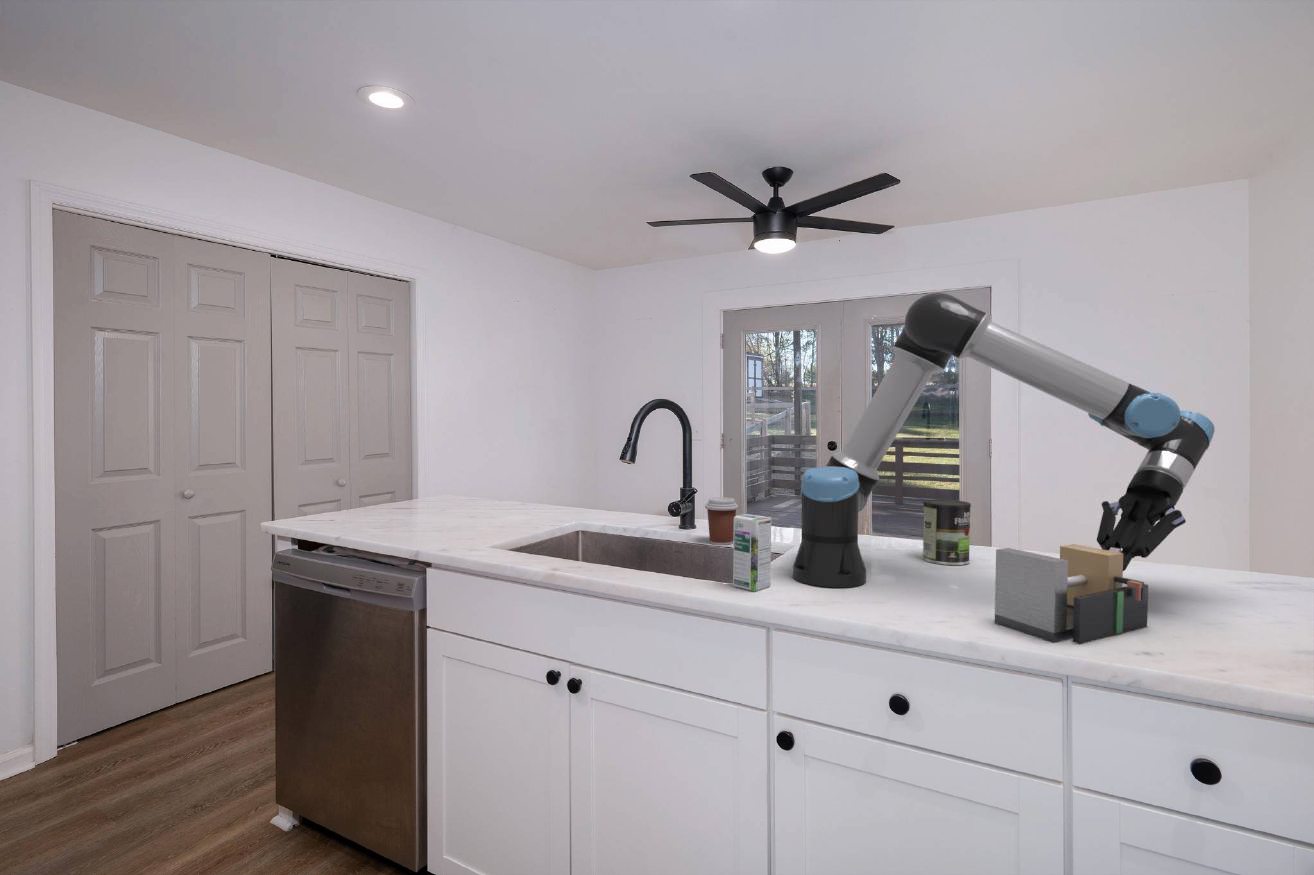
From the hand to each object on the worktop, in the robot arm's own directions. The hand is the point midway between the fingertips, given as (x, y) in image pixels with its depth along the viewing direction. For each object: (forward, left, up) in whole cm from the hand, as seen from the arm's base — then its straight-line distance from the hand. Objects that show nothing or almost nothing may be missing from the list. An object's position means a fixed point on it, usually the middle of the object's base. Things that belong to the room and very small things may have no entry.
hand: (1102, 581), depth 109 cm
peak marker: (+4, -7, -1) cm, 8 cm away
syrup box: (-60, -14, -6) cm, 62 cm away
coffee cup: (-83, +22, -6) cm, 86 cm away
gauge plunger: (-2, -6, -4) cm, 8 cm away
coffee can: (-28, +30, -6) cm, 41 cm away
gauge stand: (-5, -8, -6) cm, 11 cm away
